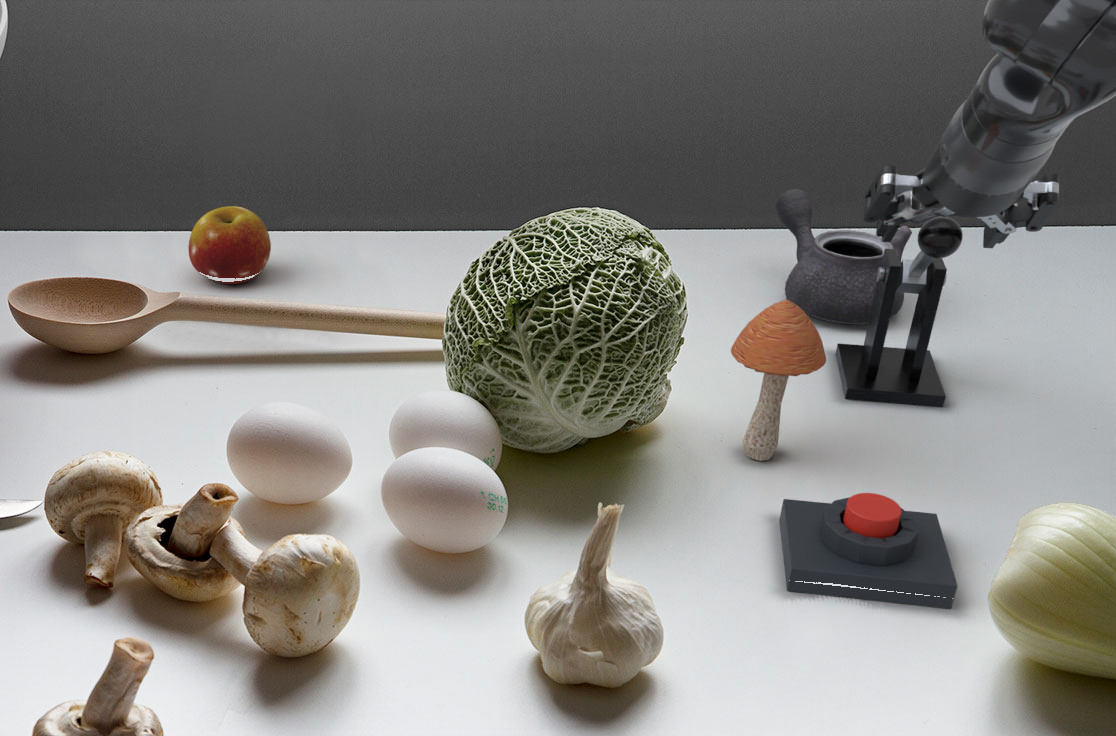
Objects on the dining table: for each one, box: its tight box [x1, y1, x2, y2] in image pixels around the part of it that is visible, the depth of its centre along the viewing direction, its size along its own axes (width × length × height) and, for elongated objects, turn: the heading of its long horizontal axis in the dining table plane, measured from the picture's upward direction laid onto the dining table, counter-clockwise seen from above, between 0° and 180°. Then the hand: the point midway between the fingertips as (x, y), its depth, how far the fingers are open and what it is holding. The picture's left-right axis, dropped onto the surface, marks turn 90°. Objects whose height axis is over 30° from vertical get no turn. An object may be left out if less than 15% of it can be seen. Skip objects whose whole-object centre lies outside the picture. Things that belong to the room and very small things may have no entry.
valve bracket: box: [835, 249, 948, 408], centre depth 125 cm, size 10×9×13 cm
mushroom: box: [730, 298, 827, 462], centre depth 113 cm, size 8×8×15 cm
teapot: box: [775, 188, 913, 325], centre depth 143 cm, size 19×15×10 cm
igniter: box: [843, 492, 902, 538], centre depth 100 cm, size 4×4×2 cm
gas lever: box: [896, 216, 964, 295], centre depth 118 cm, size 13×4×4 cm
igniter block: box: [778, 496, 958, 610], centre depth 102 cm, size 12×10×4 cm
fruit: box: [188, 205, 272, 285], centre depth 150 cm, size 10×9×8 cm
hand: (936, 235), depth 115 cm, fingers open, 8 cm apart
